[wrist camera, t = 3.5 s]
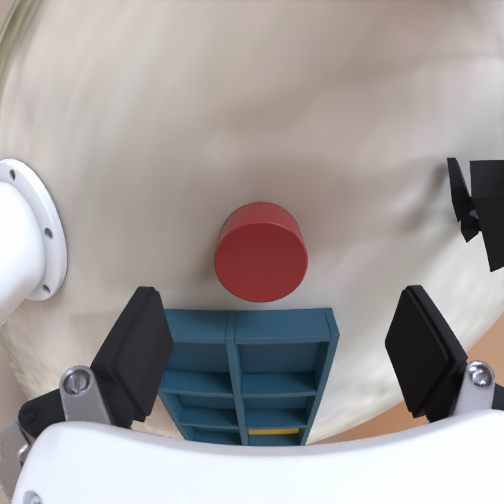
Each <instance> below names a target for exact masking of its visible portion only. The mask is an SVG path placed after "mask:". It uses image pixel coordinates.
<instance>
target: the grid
mask: <svg viewBox="0 0 504 504" xmlns="http://www.w3.org/2000/svg"><path fill="white" fill-rule="evenodd" d="M164 312H165V315H166V319H167V322H168V326H169V329H170V332H171V336H172V339H173V350H172V352H171V355H170V358H169V361H168V364H167V367H166V369H165V372H164V375H163V378H162V381H161V384H160V387H159V390H158V395H159V397H160V398H161V400H162V402H163V404H164V406H165V407H166V409H167V411H168V413H169V414H170V416H171V418H172V420H173V421H174V423H175V425H176V426H177V428H178V429H179V431H180V433H181V434H182V436H183V437H184V439H185V440H188V441H195V442H203V443H212V444H222V445H236V446H265V447H277V446H305V443H306V441H307V438H308V436H309V433H310V430H311V427H312V425H313V422H314V419H315V416H316V413H317V411H318V408H319V405H320V402H321V399H322V395H323V392H324V389H325V386H326V383H327V379H328V376H329V373H330V369H331V366H332V362H333V359H334V355H335V351H336V347H337V344H338V340H339V336H340V334H339V330H338V327H337V324H336V321H335V318H334V315H333V311H332V308H325V309H303V310H269V311H204V310H170V309H164Z"/></svg>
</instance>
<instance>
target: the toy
mask: <svg viewBox="0 0 504 504" xmlns="http://www.w3.org/2000/svg"><path fill="white" fill-rule="evenodd" d="M447 162H448V169H449V177H450V186H451V196H452V203H453V207H454V210H455V214H456V218H457V222H459V221H460V220H461V233H462V234H463V236H464V238H465V240H466V242H468V241H470V240H471V239H472V238H473V237H475V236H476V235H477V234H478V233H479V231H482V235H483V239H484V243H485V247H486V252H487V256H488V261H489V266H490V272H493V271H495V270H497V269H500V268H502V267H504V160H480V161H470V173H471V197H470V196H469V193H468V190H467V187H466V184H465V181H464V178H463V175H462V172H461V169H460V167H459V164H458V161H457V160H456V159H455V158H447ZM477 217H478V218H477Z"/></svg>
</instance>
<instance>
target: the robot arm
mask: <svg viewBox="0 0 504 504" xmlns="http://www.w3.org/2000/svg"><path fill="white" fill-rule="evenodd" d="M66 269H67V250H66V242H65V237H64V233H63V229H62V224H61V222H60V219H59V216H58V213H57V210H56V208H55V206H54V203H53V201H52V199H51V197H50V195H49V193H48V191H47V190H46V188H45V187H44V185H43V183H42V182H41V180H40V179H39V178H38V177H37V176H36V174H35V173H34V172H33V171H32V170H31V169H30V168H29V167H27V166H26V165H25V164H24V163H22V162H20V161H17V160H15V159H3V160H0V328H1V326H2V325H3V324H4V323H5V322H6V320H7V319H8V318H9V317H10V316H11V314H12V313H13V312H14V311H15V310H16V309H17V307H18V306H19V305H20V304H21V303H22V302H23V301H24V300H25V298H26V299H29V300H32V301H44V300H47V299H49V298H51V297H52V296H53V295H54V294H55V293H56V292H57V290H58V289H59V288H60V287H61V285H62V283H63V281H64V279H65V275H66ZM385 347H386V350H387V352H388V355H389V357H390V360H391V363H392V365H393V368H394V371H395V374H396V376H397V379H398V382H399V385H400V388H401V391H402V393H403V396H404V399H405V402H406V406H407V408H408V411H409V412H412V415H413V418H417V417H421V416H424V415H426V417H427V421H426V423H425V425H423V426H419V427H415V428H412V429H407V430H403V431H399V432H396V433H391V434H386V435H381V436H376V437H371V438H366V439H360V440H353V441H346V442H338V443H330V444H319V445H305V446H277V447H265V446H236V445H222V444H212V443H203V442H195V441H188V440H181V439H175V438H169V437H164V436H158V435H153V434H148V433H144V432H139V431H135V430H132V428H131V426H130V425H131V424H132V421H133V420H135V421H139V422H144V421H145V418H146V416H149V415H150V414H151V411H152V408H153V405H154V402H155V399H156V396H157V393H158V390H159V387H160V384H161V381H162V378H163V375H164V372H165V369H166V367H167V364H168V361H169V358H170V355H171V352H172V350H173V339H172V336H171V332H170V329H169V326H168V322H167V319H166V315H165V312H164V308H163V304H162V301H161V297H160V294H159V292H158V291H155V289H154V287H142V286H140V287H138V288H137V290H136V291H135V293H134V294H133V296H132V298H131V299H130V301H129V302H128V304H127V305H126V307H125V308H124V310H123V312H122V313H121V315H120V316H119V318H118V320H117V321H116V323H115V324H114V326H113V328H112V329H111V331H110V333H109V334H108V336H107V338H106V339H105V341H104V343H103V344H102V346H101V348H100V350H99V351H98V353H97V355H96V357H95V358H94V360H93V362H92V364H91V366H90V368H89V367H86V366H74V367H72V368H70V369H68V370H67V371H66V372H65V373H64V374H63V375H62V377H61V379H60V382H59V389H56V390H54V391H52V392H49V393H47V394H45V395H42V396H40V397H37V398H35V399H33V400H30V401H28V402H27V403H25V404H24V405H23V406H22V407H21V409H20V411H19V415H18V421H17V420H16V419H14V420H12V421H11V422H10V423H8V424H7V425H6V426H5V427H3V428H2V429H1V430H0V485H1V487H2V489H3V490H4V492H5V494H6V496H7V498H8V500H9V501H10V503H11V504H504V387H502V386H500V385H498V384H496V383H495V375H494V372H493V370H492V368H491V367H490V366H489V365H488V364H487V363H485V362H483V361H479V360H474V361H472V362H470V363H469V364H467V362H466V360H467V358H468V356H467V355H466V353H465V351H464V350H463V348H462V346H461V344H460V343H459V341H458V339H457V338H456V336H455V335H454V333H453V331H452V330H451V328H450V327H449V325H448V324H447V322H446V320H445V319H444V317H443V316H442V314H441V313H440V311H439V310H438V308H437V307H436V306H435V304H434V303H433V301H432V300H431V298H430V297H429V296H428V294H427V293H426V291H425V290H424V289H423V287H422V286H421V285H412V286H407V287H406V288H405V290H403V291H402V293H401V296H400V299H399V302H398V305H397V308H396V311H395V314H394V317H393V320H392V323H391V325H390V328H389V331H388V333H387V336H386V339H385Z"/></svg>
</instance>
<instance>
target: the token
mask: <svg viewBox="0 0 504 504" xmlns="http://www.w3.org/2000/svg"><path fill="white" fill-rule="evenodd" d="M214 266H215V271H216V274H217V276H218V278H219V280H220V282H221V283H222V285H223V286H224V287H225V288H226V289H227V290H228V291H229V292H230V293H232V294H233V295H235V296H237V297H239V298H241V299H244V300H247V301H251V302H271V301H275V300H278V299H281V298H283V297H285V296H287V295H289V294H290V293H291V292H293V291H294V290H295V289H296V288H297V287H298V286H299V285H300V283H301V282H302V280H303V278H304V276H305V274H306V271H307V266H308V257H307V252H306V249H305V246H304V243H303V240H302V237H301V234H300V231H299V228H298V225H297V223H296V221H295V220H294V218H293V217H292V216H291V215H290V214H289V213H288V212H287V211H286V210H284V209H283V208H281V207H279V206H277V205H274V204H271V203H263V202H258V203H251V204H248V205H245V206H243V207H241V208H239V209H237V210H236V211H235V212H233V213H232V214H231V215H230V216H229V218H228V219H227V221H226V222H225V224H224V226H223V229H222V233H221V236H220V239H219V242H218V246H217V249H216V253H215V258H214Z"/></svg>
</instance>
